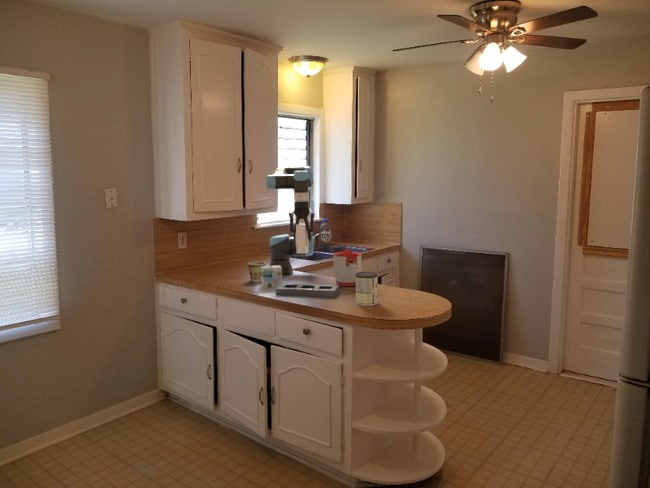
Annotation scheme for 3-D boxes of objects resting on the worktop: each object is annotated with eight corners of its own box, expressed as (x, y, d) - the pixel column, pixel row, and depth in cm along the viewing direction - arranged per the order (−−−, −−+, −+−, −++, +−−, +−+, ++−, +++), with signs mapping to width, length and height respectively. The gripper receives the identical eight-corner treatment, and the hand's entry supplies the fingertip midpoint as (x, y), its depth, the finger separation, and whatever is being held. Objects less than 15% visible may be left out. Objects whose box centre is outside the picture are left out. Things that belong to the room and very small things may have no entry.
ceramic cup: (262, 282, 306) (262, 265, 305) (245, 282, 308) (245, 264, 307) (269, 278, 319) (269, 261, 317) (253, 277, 321) (252, 260, 319)
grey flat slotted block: (283, 289, 288) (283, 283, 287) (339, 291, 281) (339, 285, 280) (275, 295, 275) (275, 288, 275) (334, 297, 268) (334, 290, 268)
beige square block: (299, 251, 290) (298, 223, 288) (308, 252, 289) (307, 223, 287) (296, 253, 285) (296, 224, 283) (305, 253, 284) (305, 224, 282)
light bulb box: (263, 288, 292) (262, 268, 291) (261, 285, 299) (260, 266, 297) (282, 286, 295) (282, 267, 294) (280, 284, 301) (279, 264, 300)
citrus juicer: (338, 289, 287) (338, 251, 284) (329, 282, 304) (329, 246, 301) (367, 287, 291) (367, 249, 288) (356, 280, 308) (356, 245, 305)
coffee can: (354, 300, 262) (354, 271, 260) (376, 300, 262) (376, 271, 260) (356, 306, 252) (356, 276, 250) (378, 305, 252) (378, 275, 250)
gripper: (282, 201, 282) (283, 246, 285) (316, 201, 278) (317, 246, 281) (286, 200, 289) (288, 244, 292) (320, 200, 285) (320, 244, 288)
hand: (302, 245), depth 287 cm, fingers closed on beige square block, 5 cm apart
